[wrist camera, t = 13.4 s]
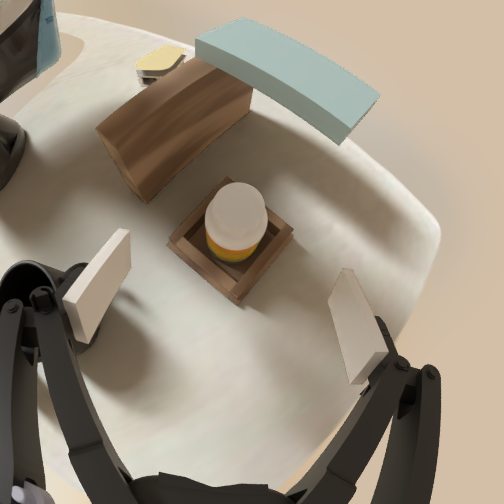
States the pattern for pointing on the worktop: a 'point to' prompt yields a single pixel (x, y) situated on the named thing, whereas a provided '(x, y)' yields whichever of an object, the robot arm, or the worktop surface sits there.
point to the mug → (29, 278)
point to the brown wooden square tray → (219, 273)
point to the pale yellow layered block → (158, 64)
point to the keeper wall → (172, 123)
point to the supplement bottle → (235, 222)
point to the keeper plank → (289, 75)
